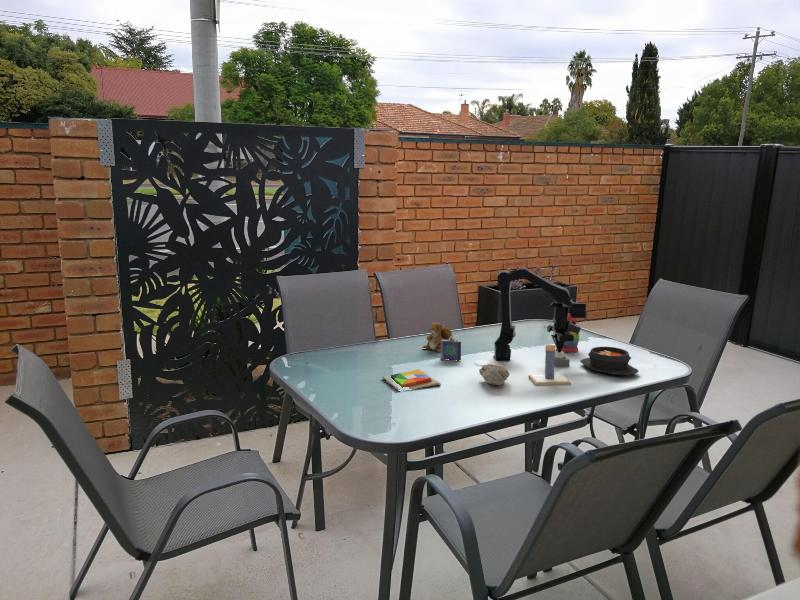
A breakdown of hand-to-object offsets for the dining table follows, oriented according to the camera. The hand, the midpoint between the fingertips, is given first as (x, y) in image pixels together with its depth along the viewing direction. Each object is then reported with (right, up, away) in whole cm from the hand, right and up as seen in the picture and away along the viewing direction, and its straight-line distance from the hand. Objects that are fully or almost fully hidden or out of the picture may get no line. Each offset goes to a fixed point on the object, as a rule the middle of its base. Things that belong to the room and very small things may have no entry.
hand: (559, 352), depth 259 cm
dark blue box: (-46, -4, +7) cm, 47 cm away
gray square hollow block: (0, -5, +1) cm, 5 cm away
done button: (0, -4, +1) cm, 4 cm away
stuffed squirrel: (-51, -1, +25) cm, 57 cm away
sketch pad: (-10, -10, -21) cm, 25 cm away
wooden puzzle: (-65, -11, -22) cm, 69 cm away
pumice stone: (-32, -11, -25) cm, 43 cm away
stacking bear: (+10, -1, +22) cm, 24 cm away
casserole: (+19, -7, -8) cm, 21 cm away
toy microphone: (-10, -8, -21) cm, 25 cm away
